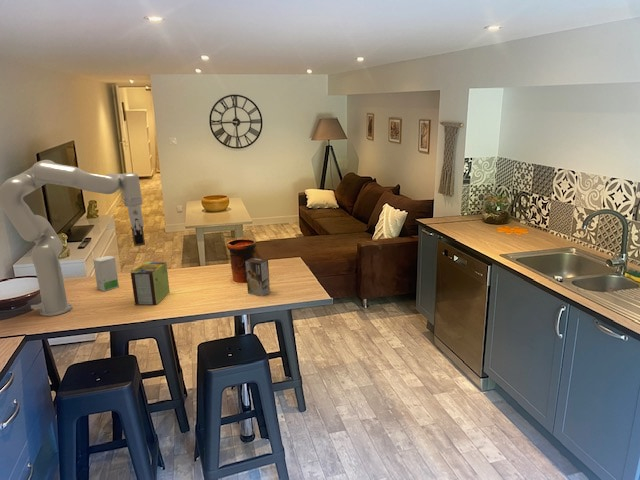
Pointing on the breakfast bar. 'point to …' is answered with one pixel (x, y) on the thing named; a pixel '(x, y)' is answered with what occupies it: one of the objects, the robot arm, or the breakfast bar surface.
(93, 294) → the breakfast bar surface
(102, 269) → the skincare box
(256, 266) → the coffee box
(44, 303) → the robot arm
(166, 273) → the protein box
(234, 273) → the vessel
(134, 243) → the walnut block
